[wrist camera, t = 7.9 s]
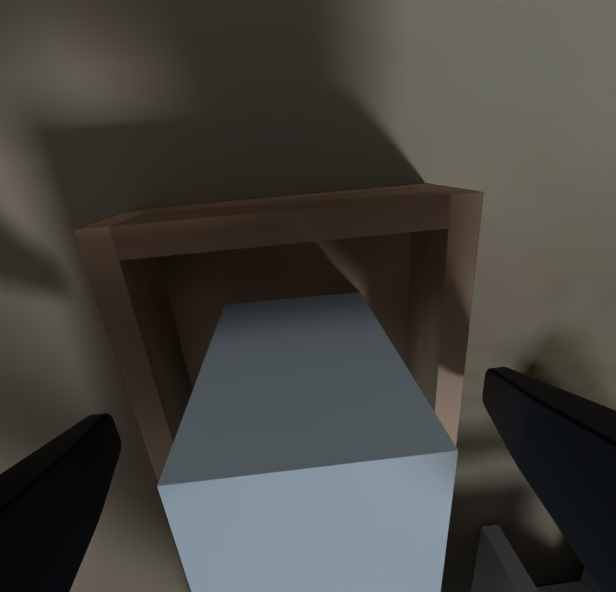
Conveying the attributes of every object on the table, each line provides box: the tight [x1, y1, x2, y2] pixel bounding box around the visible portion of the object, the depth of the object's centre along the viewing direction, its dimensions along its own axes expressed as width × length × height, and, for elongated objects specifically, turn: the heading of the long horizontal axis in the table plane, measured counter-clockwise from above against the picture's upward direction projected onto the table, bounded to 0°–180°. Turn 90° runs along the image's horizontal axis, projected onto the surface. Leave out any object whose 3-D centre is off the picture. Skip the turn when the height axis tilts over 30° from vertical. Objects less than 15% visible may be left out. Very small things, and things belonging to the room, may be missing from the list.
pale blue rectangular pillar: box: [157, 292, 458, 592], centre depth 10 cm, size 14×4×6 cm, turn 4°
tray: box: [73, 183, 484, 482], centre depth 12 cm, size 20×8×3 cm, turn 5°
